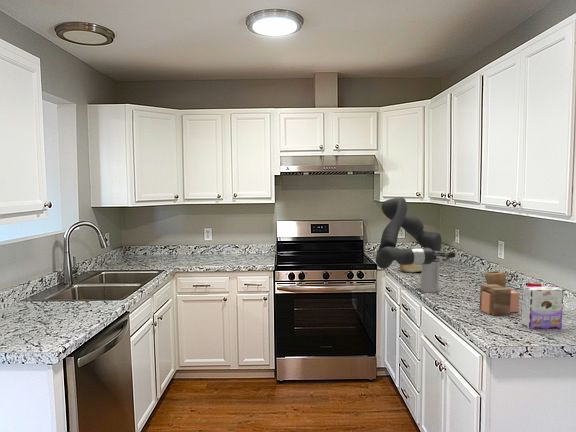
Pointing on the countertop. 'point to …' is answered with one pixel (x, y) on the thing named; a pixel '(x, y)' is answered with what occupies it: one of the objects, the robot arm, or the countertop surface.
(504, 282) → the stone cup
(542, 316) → the candy box
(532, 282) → the beverage can
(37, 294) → the countertop surface
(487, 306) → the block
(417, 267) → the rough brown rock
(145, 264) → the countertop surface
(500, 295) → the tunnel
